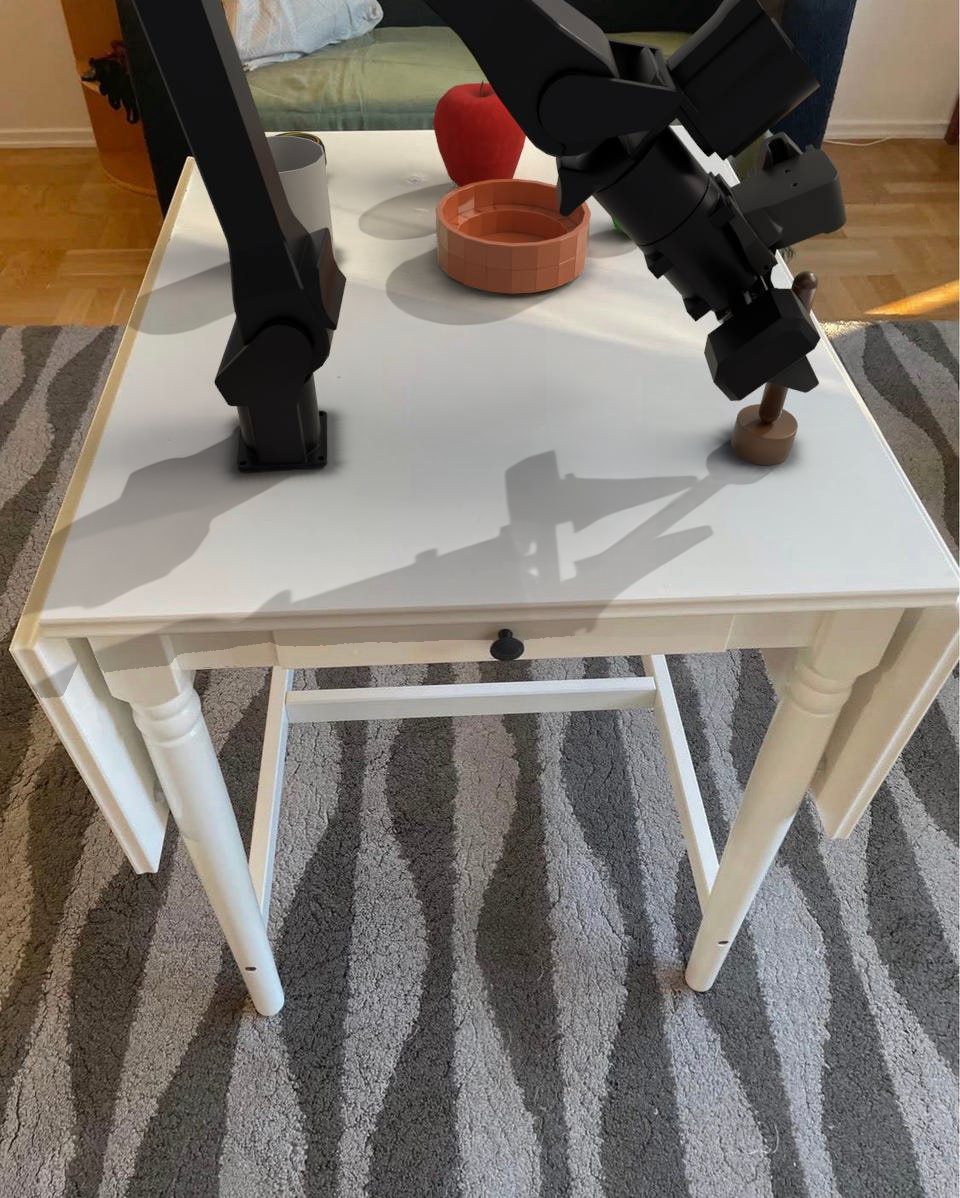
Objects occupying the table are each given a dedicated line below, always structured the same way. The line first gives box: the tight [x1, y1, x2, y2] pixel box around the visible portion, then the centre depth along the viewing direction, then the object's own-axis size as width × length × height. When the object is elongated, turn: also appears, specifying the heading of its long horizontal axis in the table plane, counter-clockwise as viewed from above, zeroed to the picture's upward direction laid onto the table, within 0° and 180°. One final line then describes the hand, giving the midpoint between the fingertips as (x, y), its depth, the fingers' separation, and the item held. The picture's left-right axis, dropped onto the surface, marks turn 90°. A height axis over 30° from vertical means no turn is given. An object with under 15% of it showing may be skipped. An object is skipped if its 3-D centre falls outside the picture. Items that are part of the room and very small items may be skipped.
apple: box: [432, 79, 527, 188], centre depth 99 cm, size 10×10×11 cm
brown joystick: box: [730, 270, 819, 466], centre depth 67 cm, size 4×4×14 cm
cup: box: [266, 135, 337, 262], centre depth 88 cm, size 8×8×10 cm
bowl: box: [435, 178, 592, 294], centre depth 90 cm, size 14×14×5 cm
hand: (802, 365), depth 67 cm, fingers open, 5 cm apart
